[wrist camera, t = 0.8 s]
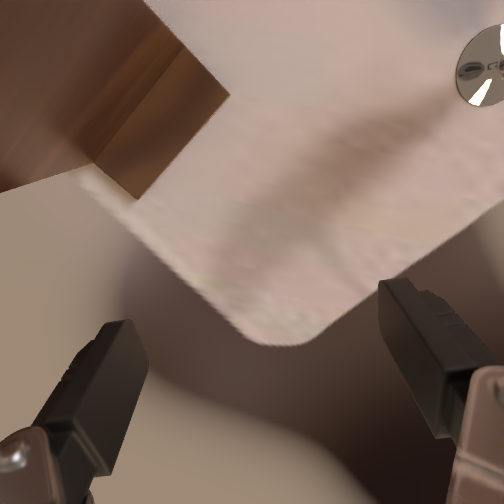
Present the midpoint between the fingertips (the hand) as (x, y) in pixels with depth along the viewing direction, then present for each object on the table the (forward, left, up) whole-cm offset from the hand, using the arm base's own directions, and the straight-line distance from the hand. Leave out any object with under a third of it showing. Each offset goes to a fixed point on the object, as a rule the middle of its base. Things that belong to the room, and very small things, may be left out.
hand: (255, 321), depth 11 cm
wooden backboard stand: (-12, -11, -28) cm, 32 cm away
